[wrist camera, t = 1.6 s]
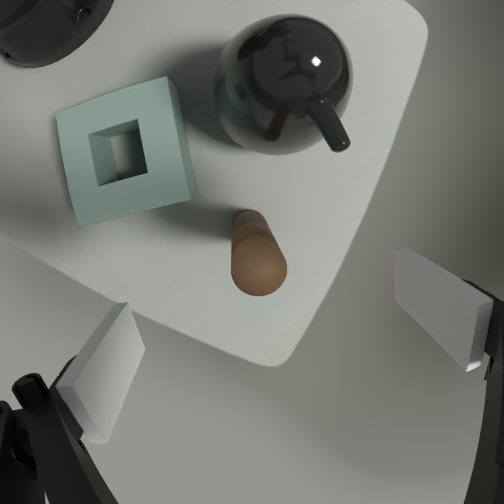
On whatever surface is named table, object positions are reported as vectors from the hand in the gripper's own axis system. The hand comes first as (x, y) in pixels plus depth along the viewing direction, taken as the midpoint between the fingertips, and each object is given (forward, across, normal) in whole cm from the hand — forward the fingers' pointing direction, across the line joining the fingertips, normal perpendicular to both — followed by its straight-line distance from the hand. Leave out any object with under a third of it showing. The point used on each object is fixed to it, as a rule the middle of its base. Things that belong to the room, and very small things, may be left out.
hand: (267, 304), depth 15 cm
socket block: (+16, -9, +9) cm, 20 cm away
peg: (+16, 0, 0) cm, 16 cm away
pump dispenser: (+16, +4, +11) cm, 20 cm away
